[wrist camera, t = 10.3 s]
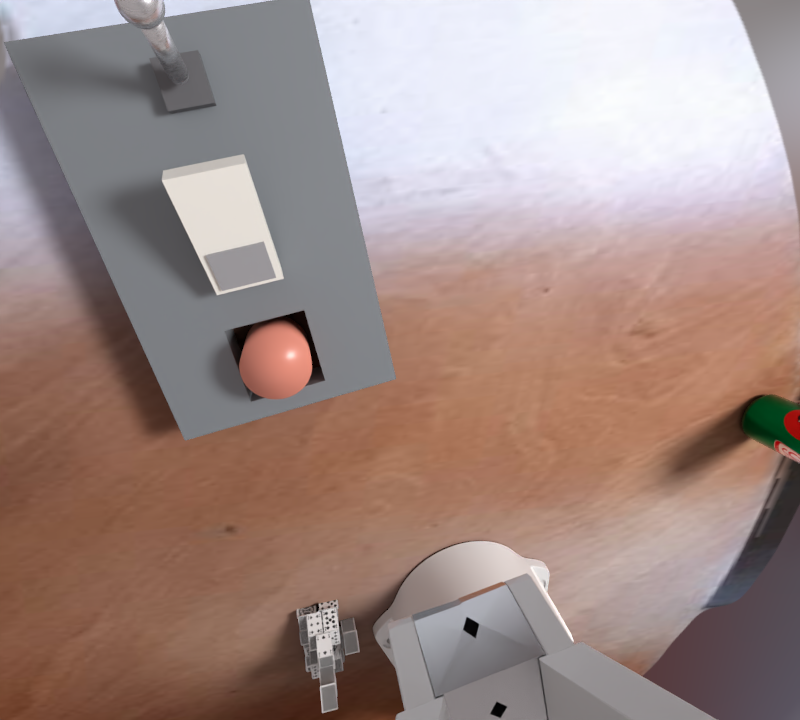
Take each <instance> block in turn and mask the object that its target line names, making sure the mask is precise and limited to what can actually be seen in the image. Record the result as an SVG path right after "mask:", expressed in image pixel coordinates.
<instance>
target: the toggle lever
mask: <svg viewBox="0 0 800 720" xmlns="http://www.w3.org/2000/svg"><path fill="white" fill-rule="evenodd" d="M114 2H115V5H116V7H117V9H118V11H119V12H120V14H121V15H122V16H123V17H124V18H125V20H127V21H128V22H129V23H130V24H132V25H133V26H135V27H137V28H140V29H141V30H142V32H143V34H144V35H145V37H146V39H147V41H148V42H149V44H150V46H151V48H152V49H153V51H154V53H155V55H156V56H157V58H158V60H159V62H160V63H161V65H162V67H163V69H164V70H165V72H166V74H167V76H168V77H169V79H170V80H171V81H172V82H174V83H175V84H178V85H182V84H185V83H186V82H187V81H188V78H189V73H188V70H187V68H186V66H185V64H184V62H183V60H182V58H181V56H180V54H179V52H178V50H177V48H176V46H175V44H174V42H173V40H172V38H171V35H170V33H169V31H168V29H167V27H166V25H165V23H164V21H163V19H164V15H165V4H164V0H114Z"/></svg>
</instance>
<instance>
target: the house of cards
mask: <svg viewBox="0 0 800 720" xmlns="http://www.w3.org/2000/svg"><path fill="white" fill-rule="evenodd" d="M338 608H339V606H338V600H334V601H329V602H324V603H320V604H319V611H318V612H317V610H316V605H315V606H311V607H306V608H301V609H297V618H298V622H299V629H300V631H301V632H299V634H300V641H301V646H304V653H305V665H306V672H309V671H311V673H312V679H316V678H319V679H320V694H321V706H322V713H325V712H329V711H332V710H336V709H338V703H337V697H338V696H337V685H336V676H335V673H336V672H340V671H344V669H343V662H344V661H345V655H349V654H353V653H357V652H360V650H359V642H358V635H357V630H356V628H355V622H354V618H349V619H345V620H341V627H339V624H338ZM341 628H342V632H341ZM342 635H343V637H342ZM343 644H344V647H343ZM344 648H345V655H344V651H343V649H344Z"/></svg>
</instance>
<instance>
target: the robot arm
mask: <svg viewBox="0 0 800 720" xmlns="http://www.w3.org/2000/svg"><path fill="white" fill-rule="evenodd" d="M548 583H549V570H548V569H547V567H546V565H545V563H544V562H542V561H540V560H536V559H530V558H523V557H521V556H520V555H518V554H517V553H515V552H514V551H513V550H511V549H510V548H508V547H506V546H504V545H501V544H498V543H494V542H488V541H473V542H466V543H461V544H457V545H454V546H451V547H449V548H446V549H444V550H442V551H440V552H438V553H436V554H434V555H432V556H431V557H429V558H428V559H426V560H425V561H424V562H422V563H421V564H420V565H419V566H418V567H417V568H415V569H414V570H413V571H412V572H411V574H410V575H409V576H408V577H407V578H406V580H405V581H404V583H403V584H402V586H401V587H400V589H399V591H398V593H397V596H396V598H395V600H394V602H393V604H392V605H391V607H390V608H389V609H388V610H387V611H386V612H385V613H384V614H383V615H382V616H381V617H380V618H379V619H378V620H377V621H376V622H375V624H374V626H373V633H374V636H375V639H376V641H377V642H378V644H379V645H380V647H381V648H382V650H383V651H384V653H385V654H386V656H387V657H388V658H389V660H390V661H391V663H392V664H393V666H394V667H395V669H396V673H397V678H398V682H399V687H400V692H401V696H402V701H403V706H404V710H405V711H403V712H401V713H398V714H397V715H396V719H395V720H717V719H715V718H713V717H711V716H710V715H708V714H706V713H704V712H703V711H701V710H699V709H697V708H696V707H694V706H692V705H690V704H689V703H687V702H685V701H684V700H682V699H680V698H678V697H677V696H675V695H673V694H672V693H670V692H668V691H666V690H665V689H663V688H661V687H659V686H657V685H656V684H654V683H652V682H651V681H649V680H647V679H646V678H644V677H642V676H640V675H639V674H637V673H635V672H633V671H632V670H630V669H628V668H626V667H625V666H623V665H621V664H620V663H618V662H616V661H614V660H613V659H611V658H609V657H607V656H606V655H604V654H602V653H600V652H599V651H597V650H595V649H594V648H592V647H590V646H588V645H587V644H585V643H583V642H580V643H577V644H574V643H573V638H572V635H571V633H570V631H569V629H568V628H567V626H566V624H565V622H564V621H563V619H562V617H561V616H560V614H559V612H558V610H557V609H556V607H555V605H554V604H553V602H552V600H551V598H550V597H549V595H548V593H547V590H548Z"/></svg>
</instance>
